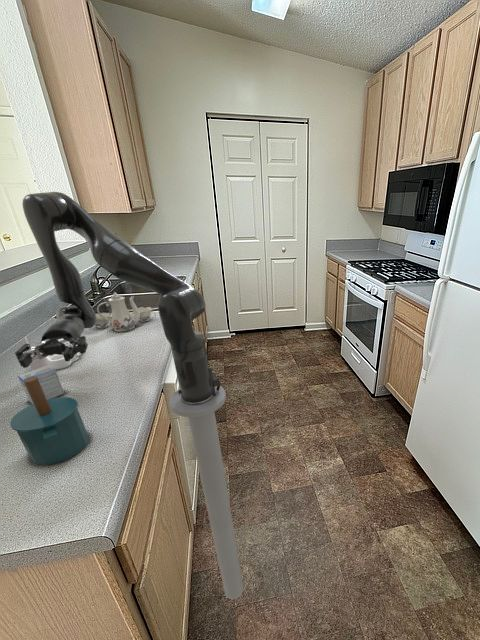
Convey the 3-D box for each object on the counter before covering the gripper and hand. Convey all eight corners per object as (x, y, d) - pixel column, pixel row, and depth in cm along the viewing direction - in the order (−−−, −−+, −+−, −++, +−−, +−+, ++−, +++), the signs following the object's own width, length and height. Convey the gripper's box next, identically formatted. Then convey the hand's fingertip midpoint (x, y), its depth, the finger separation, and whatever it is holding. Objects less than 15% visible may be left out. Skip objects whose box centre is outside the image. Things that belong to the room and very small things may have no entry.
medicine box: (58, 389, 101) (48, 364, 97) (65, 393, 99) (55, 368, 95) (28, 401, 96) (16, 375, 92) (34, 406, 93) (22, 380, 89)
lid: (75, 395, 82) (61, 360, 77) (82, 418, 73) (68, 381, 69) (12, 414, 75) (-7, 377, 71) (11, 442, 66) (-10, 402, 62)
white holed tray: (46, 352, 126) (89, 346, 130) (28, 373, 111) (78, 366, 115) (43, 343, 124) (87, 338, 128) (24, 364, 109) (75, 357, 113)
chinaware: (154, 318, 162) (146, 284, 156) (160, 325, 149) (152, 288, 143) (89, 330, 150) (77, 293, 143) (89, 339, 136) (76, 299, 130)
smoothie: (39, 372, 111) (22, 334, 105) (59, 371, 112) (44, 333, 105) (27, 382, 105) (9, 342, 99) (48, 381, 106) (31, 341, 100)
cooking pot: (83, 420, 87) (71, 390, 83) (94, 455, 75) (81, 422, 71) (30, 438, 81) (14, 406, 77) (33, 480, 69) (14, 445, 65)
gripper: (27, 327, 87) (1, 351, 74) (88, 319, 91) (74, 341, 78) (37, 352, 91) (15, 380, 77) (96, 344, 95) (84, 369, 81)
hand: (45, 360), depth 77 cm, fingers open, 8 cm apart
